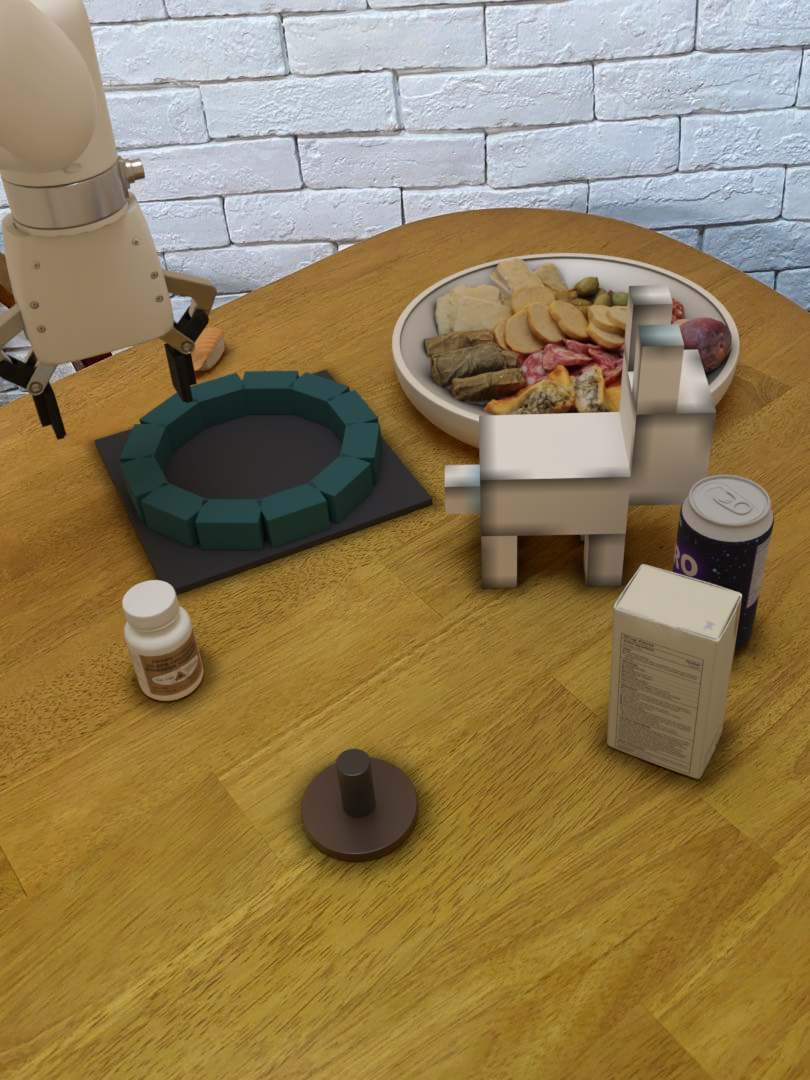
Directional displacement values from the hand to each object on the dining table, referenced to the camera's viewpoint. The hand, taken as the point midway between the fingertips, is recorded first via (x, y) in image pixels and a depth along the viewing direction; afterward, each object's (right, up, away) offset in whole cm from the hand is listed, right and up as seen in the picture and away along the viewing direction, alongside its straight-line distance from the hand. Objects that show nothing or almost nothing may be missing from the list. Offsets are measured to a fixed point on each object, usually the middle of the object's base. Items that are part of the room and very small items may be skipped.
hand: (121, 411), depth 85 cm
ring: (+9, -4, +9) cm, 13 cm away
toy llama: (+33, -11, 0) cm, 35 cm away
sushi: (+3, +7, +23) cm, 25 cm away
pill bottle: (+5, -19, -7) cm, 21 cm away
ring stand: (+19, -26, -17) cm, 36 cm away
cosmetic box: (+37, -22, -14) cm, 46 cm away
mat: (+9, -4, +9) cm, 14 cm away
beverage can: (+42, -16, -7) cm, 46 cm away
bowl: (+35, +5, +17) cm, 40 cm away
